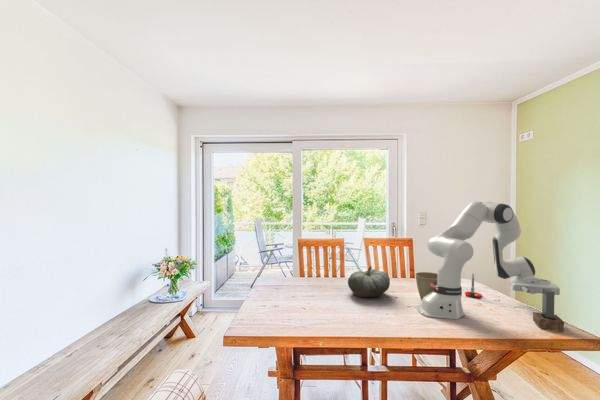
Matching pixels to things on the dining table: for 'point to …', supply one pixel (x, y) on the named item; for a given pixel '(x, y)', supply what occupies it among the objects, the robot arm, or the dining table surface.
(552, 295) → the gray rectangular bar
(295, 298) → the dining table surface
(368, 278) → the gourd
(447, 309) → the robot arm
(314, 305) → the dining table surface
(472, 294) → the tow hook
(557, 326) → the brown square socket block
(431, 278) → the plant pot
